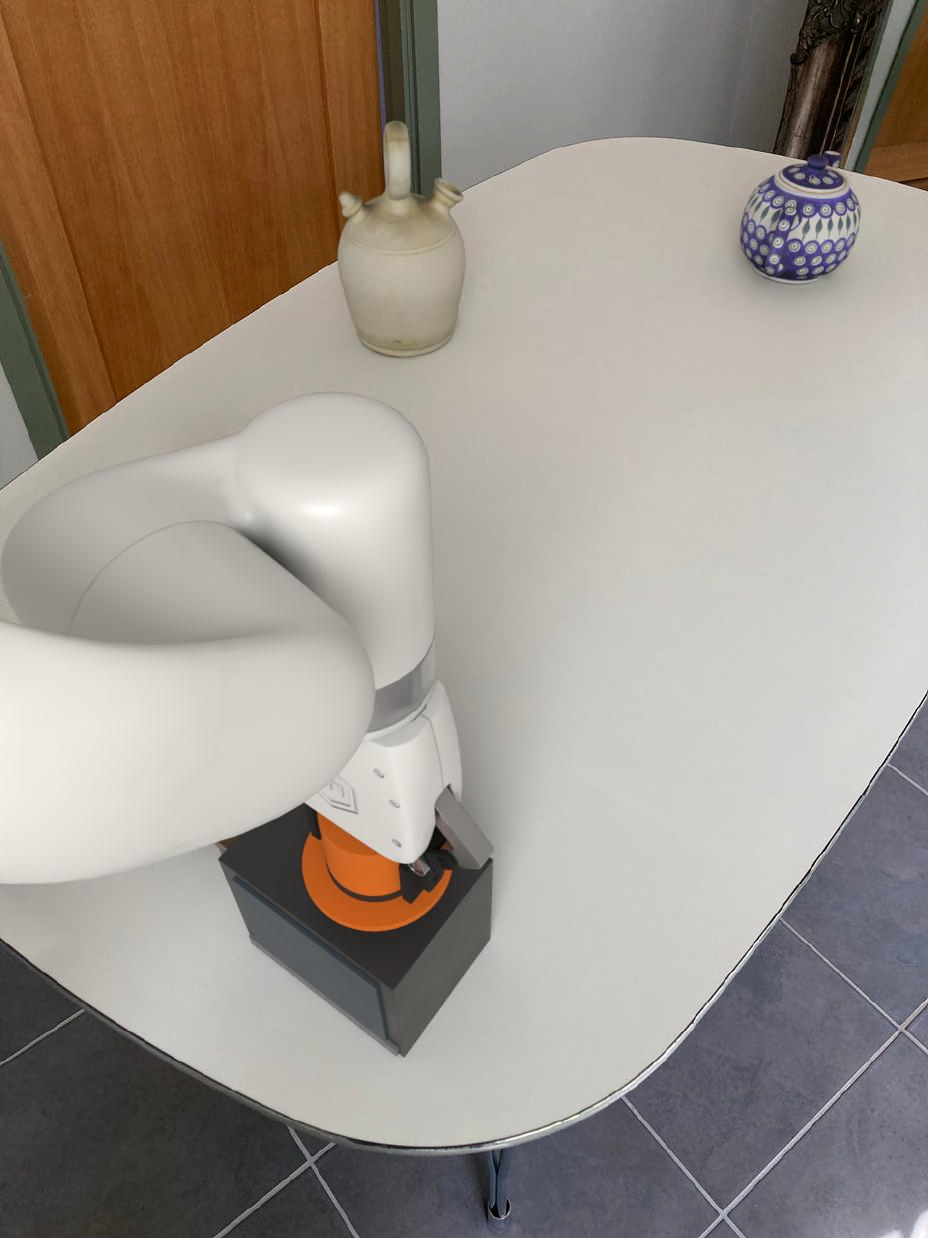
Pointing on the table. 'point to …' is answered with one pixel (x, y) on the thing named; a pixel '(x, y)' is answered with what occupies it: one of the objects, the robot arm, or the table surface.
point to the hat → (359, 882)
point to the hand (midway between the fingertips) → (377, 849)
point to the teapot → (801, 221)
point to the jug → (402, 259)
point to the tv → (357, 936)
